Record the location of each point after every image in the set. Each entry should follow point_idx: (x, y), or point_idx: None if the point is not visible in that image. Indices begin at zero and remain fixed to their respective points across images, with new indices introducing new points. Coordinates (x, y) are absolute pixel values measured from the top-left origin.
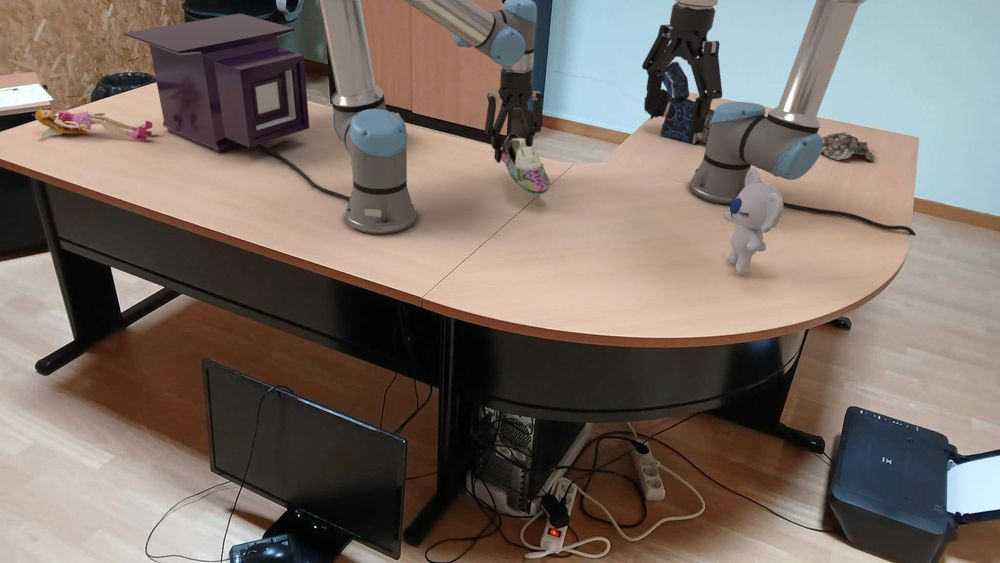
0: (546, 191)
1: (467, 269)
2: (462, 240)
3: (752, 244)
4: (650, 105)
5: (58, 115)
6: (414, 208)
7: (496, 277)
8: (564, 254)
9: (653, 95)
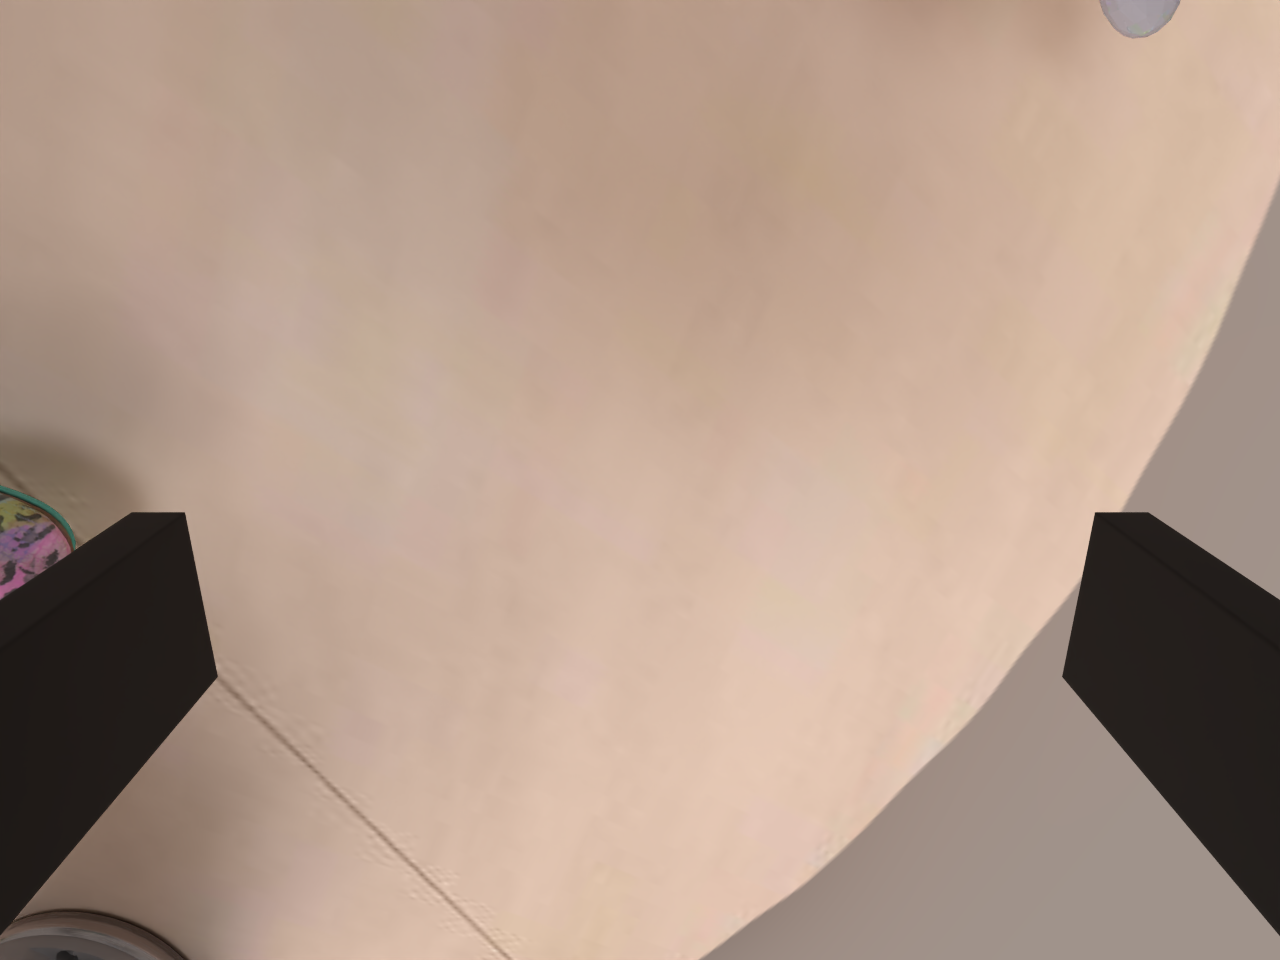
0: (58, 514)
1: (487, 895)
2: (300, 843)
3: (1158, 13)
4: (178, 664)
5: None
6: (73, 936)
7: (562, 845)
8: (500, 590)
9: (83, 734)
